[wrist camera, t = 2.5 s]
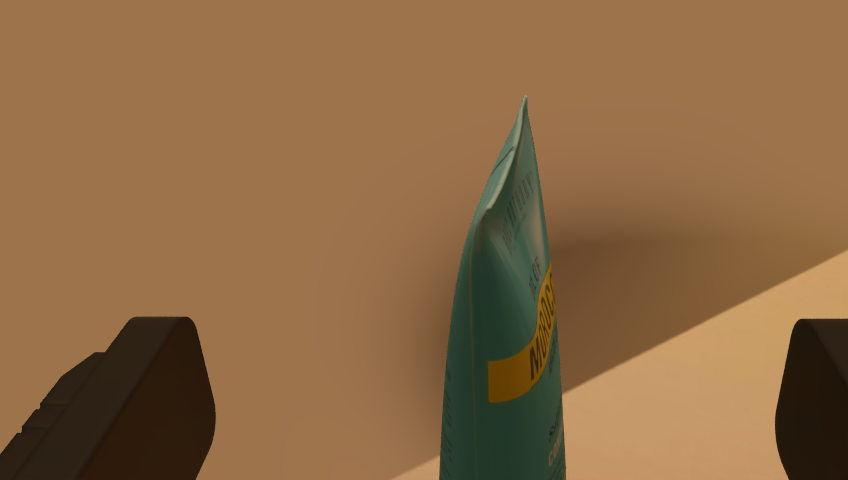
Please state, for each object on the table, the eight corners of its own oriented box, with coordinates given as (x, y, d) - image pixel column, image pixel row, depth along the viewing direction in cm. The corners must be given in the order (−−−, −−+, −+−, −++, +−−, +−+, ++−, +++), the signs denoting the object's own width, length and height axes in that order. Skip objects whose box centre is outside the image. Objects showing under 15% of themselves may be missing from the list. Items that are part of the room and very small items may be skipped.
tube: (568, 717, 26) (605, 207, 17) (425, 702, 27) (384, 202, 17) (564, 536, 32) (589, 94, 23) (449, 527, 33) (428, 94, 24)
